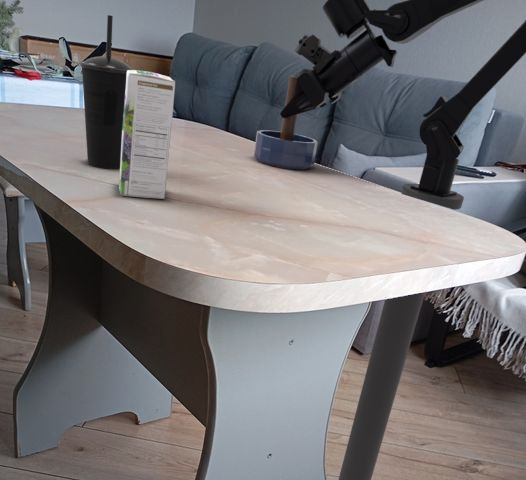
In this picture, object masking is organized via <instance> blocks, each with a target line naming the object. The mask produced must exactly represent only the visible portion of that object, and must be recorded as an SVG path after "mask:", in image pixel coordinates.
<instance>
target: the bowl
mask: <svg viewBox="0 0 526 480" xmlns="http://www.w3.org/2000/svg"><path fill="white" fill-rule="evenodd" d="M280 134H281V130H280V131H278V130H269V129H265V130H264V129H263V130H262V129H261V130H257V131H256V137H255V143H254V150H253V157H254V158H255V159H257V161H258V162H259V163H261V164H264V165H267V166H271V167H276V168H279V169H287V170H298V171H299V170H300V171H301V170H303V171H304V170H308V169H309V168H311V167H313V166H315V165H314V164H315V159H316V154H317V148H318V143H319V141H317V139H314V138H312V137H309V136H305V135H301V134H296V133H295V134H294V139H293V141H290V140H284V139H280Z"/></svg>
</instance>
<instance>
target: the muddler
mask: <svg viewBox="0 0 526 480" xmlns="http://www.w3.org/2000/svg"><path fill="white" fill-rule="evenodd" d="M295 76H296V75H289V78H288V84H287V91H286V97H285V103H284V104H285V105H284V107H285V106H286V105H287V104H288V103H289V101H290V100H291V99H292V98H293V96H294V95H295V94H296V92H297V91H298V81H297V79H296V77H295ZM298 116H299V114H296V115H293V116H289V117H286V118H282V122H281V128H280V132H281V134H280V139H284V140H290V141H293V139H294V134H296V127H297V121H298Z"/></svg>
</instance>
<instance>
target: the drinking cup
mask: <svg viewBox="0 0 526 480" xmlns="http://www.w3.org/2000/svg"><path fill="white" fill-rule="evenodd" d="M113 20H114V18H113V15H110V14H108V15H107V20H106V21H107V23H106V45H105V47H106V48H105V55H102V56H94V57H90V58H87V59H85V60H84V61H80V62H79V67H81V76H82V77H81V78H82V89H83V90H82V91H83V104H84V105H83V107H84V118H85V119H84V122H85V124H84V125H85V140H86V153H87V154H86V156H87V165H90V166H92V167H95V168H101V169H109V170H110V169H120V161H121V142H122V126H123V114H124V101H125V90H126V74H127V70H135V69H133V68H132V67H131V65H128V64H127V63H126V62H124V61H123V60H121V59H118V58H116V57H112V44H113V43H112V42H113Z"/></svg>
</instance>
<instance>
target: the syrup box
mask: <svg viewBox="0 0 526 480" xmlns="http://www.w3.org/2000/svg"><path fill="white" fill-rule="evenodd" d="M175 89H176V80H173V79H172V78H171V77H170V76H168V75H163V74H160V73H157V72H152V71H147V70H139V69H137V70H136V69H134V70H127V74H126V90H125V101H124V114H123V126H122V142H121V161H120V168H119V182H118V186H119V188H118V189H119V194H120V195H121V196H124V197H136V198H145V199H159V200H165V199H166V186H167V179H168V166H169V155H170V144H171V134H172V124H173V116H174V115H173V113H174V102H175Z"/></svg>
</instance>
